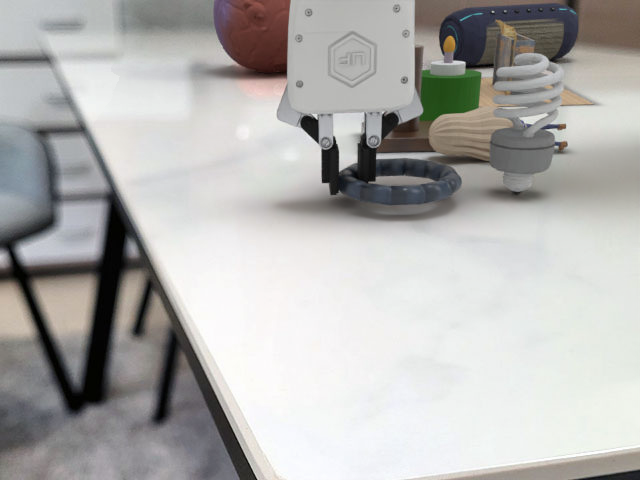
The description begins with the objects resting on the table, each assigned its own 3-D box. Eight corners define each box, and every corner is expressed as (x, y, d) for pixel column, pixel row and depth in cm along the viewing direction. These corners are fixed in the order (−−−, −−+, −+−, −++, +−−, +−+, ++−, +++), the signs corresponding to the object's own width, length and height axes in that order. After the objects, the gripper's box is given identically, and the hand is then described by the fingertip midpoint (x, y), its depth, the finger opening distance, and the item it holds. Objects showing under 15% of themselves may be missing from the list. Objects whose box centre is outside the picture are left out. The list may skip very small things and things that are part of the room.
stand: (437, 133, 94) (444, 40, 90) (452, 151, 86) (459, 49, 82) (361, 134, 95) (363, 42, 91) (368, 152, 87) (371, 52, 82)
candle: (444, 126, 98) (450, 40, 94) (398, 116, 104) (402, 36, 100) (491, 117, 101) (499, 35, 97) (444, 108, 108) (449, 31, 104)
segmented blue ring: (447, 171, 74) (448, 154, 73) (470, 205, 64) (472, 186, 64) (334, 175, 74) (334, 158, 74) (341, 209, 65) (341, 190, 64)
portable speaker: (457, 71, 138) (462, 10, 134) (431, 64, 147) (435, 7, 143) (585, 62, 143) (593, 3, 139) (552, 56, 152) (559, 0, 148)
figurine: (553, 114, 86) (420, 113, 84) (575, 101, 82) (435, 100, 79) (557, 167, 85) (423, 168, 83) (580, 156, 81) (439, 157, 79)
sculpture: (298, 61, 157) (298, -50, 149) (346, 74, 140) (349, -51, 131) (202, 69, 151) (196, -46, 143) (239, 84, 133) (235, -47, 125)
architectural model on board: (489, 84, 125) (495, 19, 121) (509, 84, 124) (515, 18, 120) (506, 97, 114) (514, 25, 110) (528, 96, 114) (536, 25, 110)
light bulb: (561, 200, 68) (581, 55, 64) (497, 204, 68) (512, 58, 63) (534, 183, 74) (550, 47, 69) (474, 186, 73) (486, 50, 68)
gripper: (246, -32, 59) (256, 206, 67) (463, -43, 58) (448, 200, 66) (250, -35, 66) (258, 181, 73) (444, -44, 65) (432, 176, 72)
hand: (348, 188), depth 69 cm, fingers closed on segmented blue ring, 2 cm apart
